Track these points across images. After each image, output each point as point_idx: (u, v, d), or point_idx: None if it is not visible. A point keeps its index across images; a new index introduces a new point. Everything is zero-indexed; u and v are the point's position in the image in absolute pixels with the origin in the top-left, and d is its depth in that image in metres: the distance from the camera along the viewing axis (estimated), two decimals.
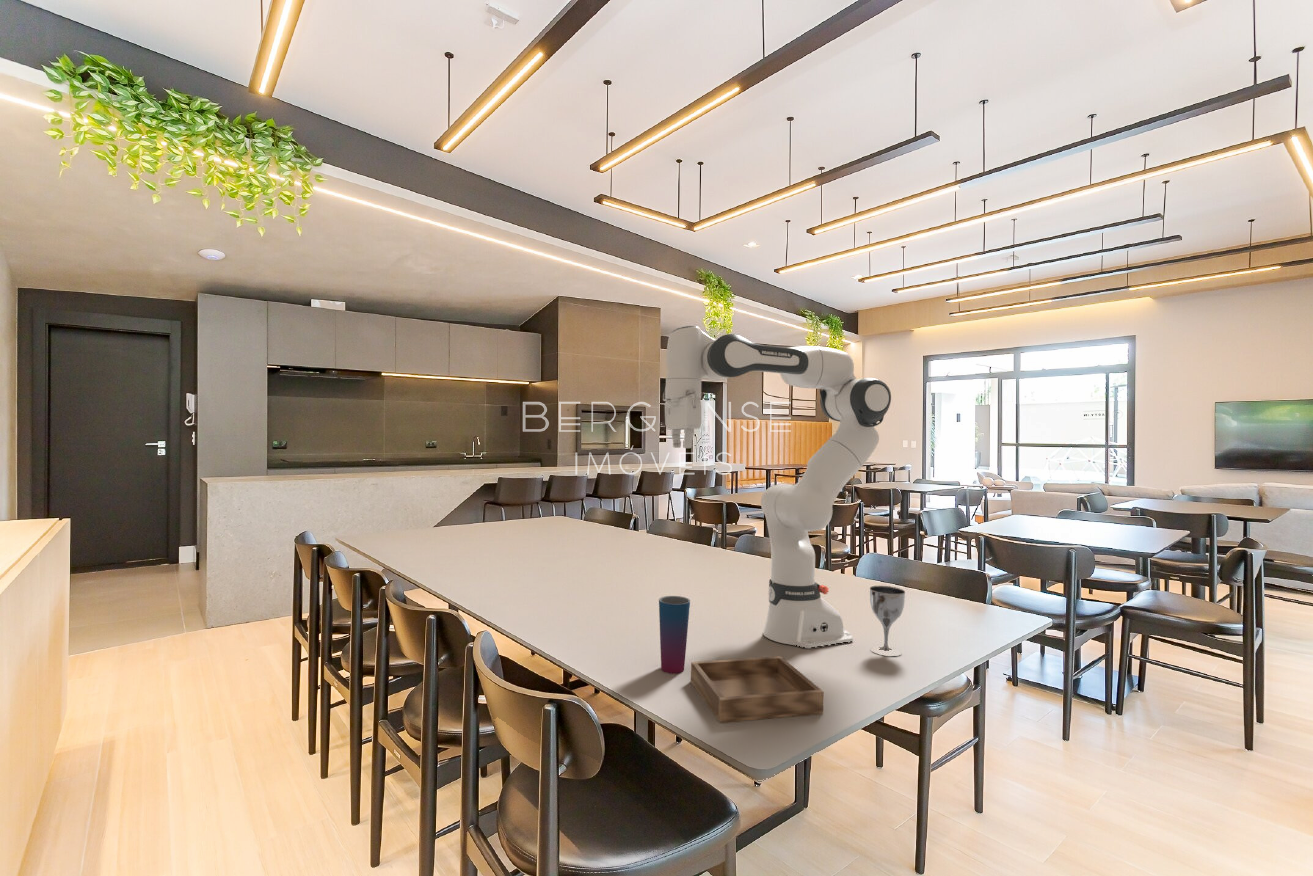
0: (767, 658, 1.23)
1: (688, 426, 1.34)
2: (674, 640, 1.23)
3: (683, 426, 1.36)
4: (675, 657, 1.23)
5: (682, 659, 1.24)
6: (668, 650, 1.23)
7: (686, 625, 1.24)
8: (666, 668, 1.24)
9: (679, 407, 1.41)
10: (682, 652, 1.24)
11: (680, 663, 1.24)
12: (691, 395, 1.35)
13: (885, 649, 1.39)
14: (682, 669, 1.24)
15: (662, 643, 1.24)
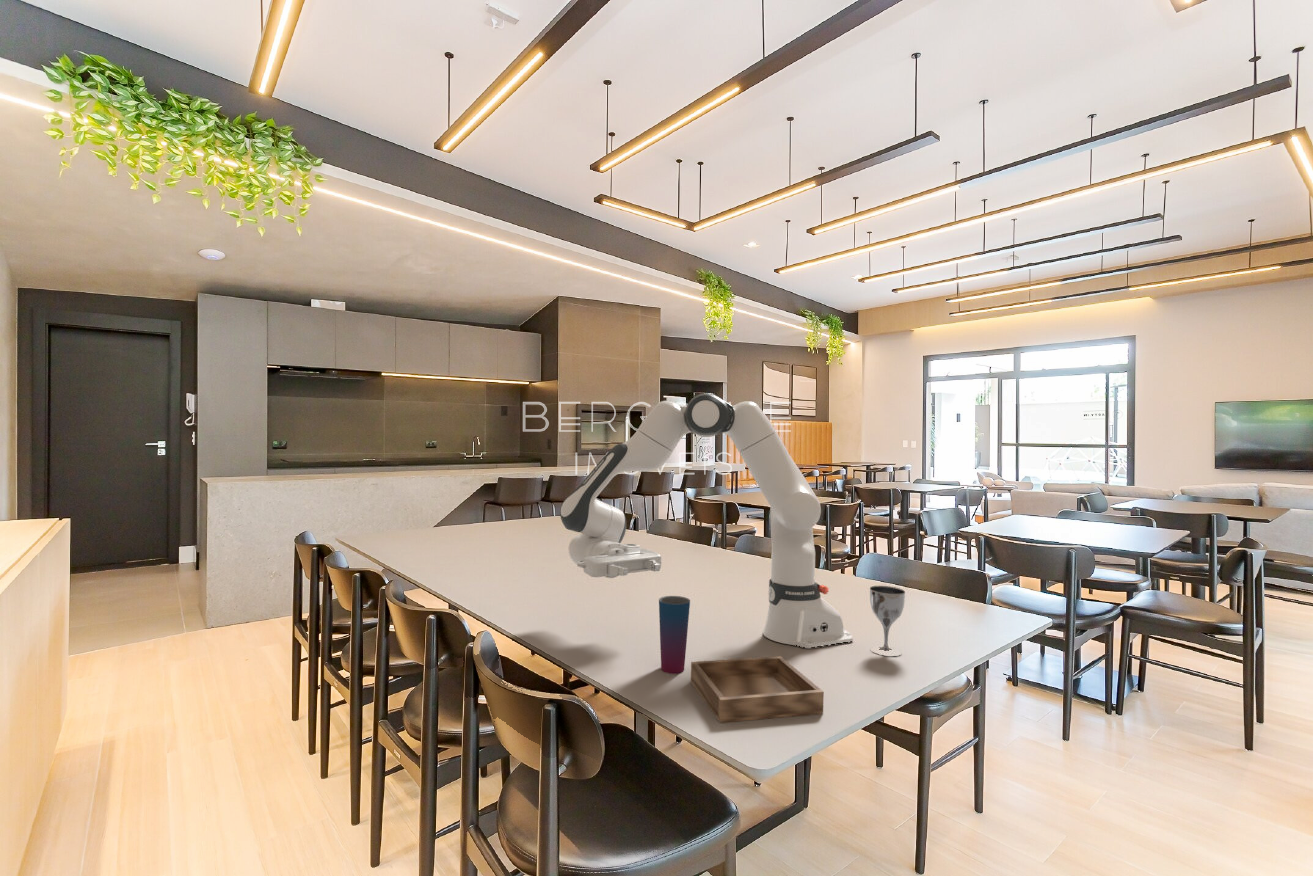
0: (767, 658, 1.23)
1: (595, 575, 1.34)
2: (674, 640, 1.23)
3: (604, 576, 1.35)
4: (675, 657, 1.23)
5: (682, 659, 1.24)
6: (668, 650, 1.23)
7: (686, 625, 1.24)
8: (666, 668, 1.24)
9: None
10: (682, 652, 1.24)
11: (680, 663, 1.24)
12: None
13: (885, 649, 1.39)
14: (682, 669, 1.24)
15: (662, 643, 1.24)
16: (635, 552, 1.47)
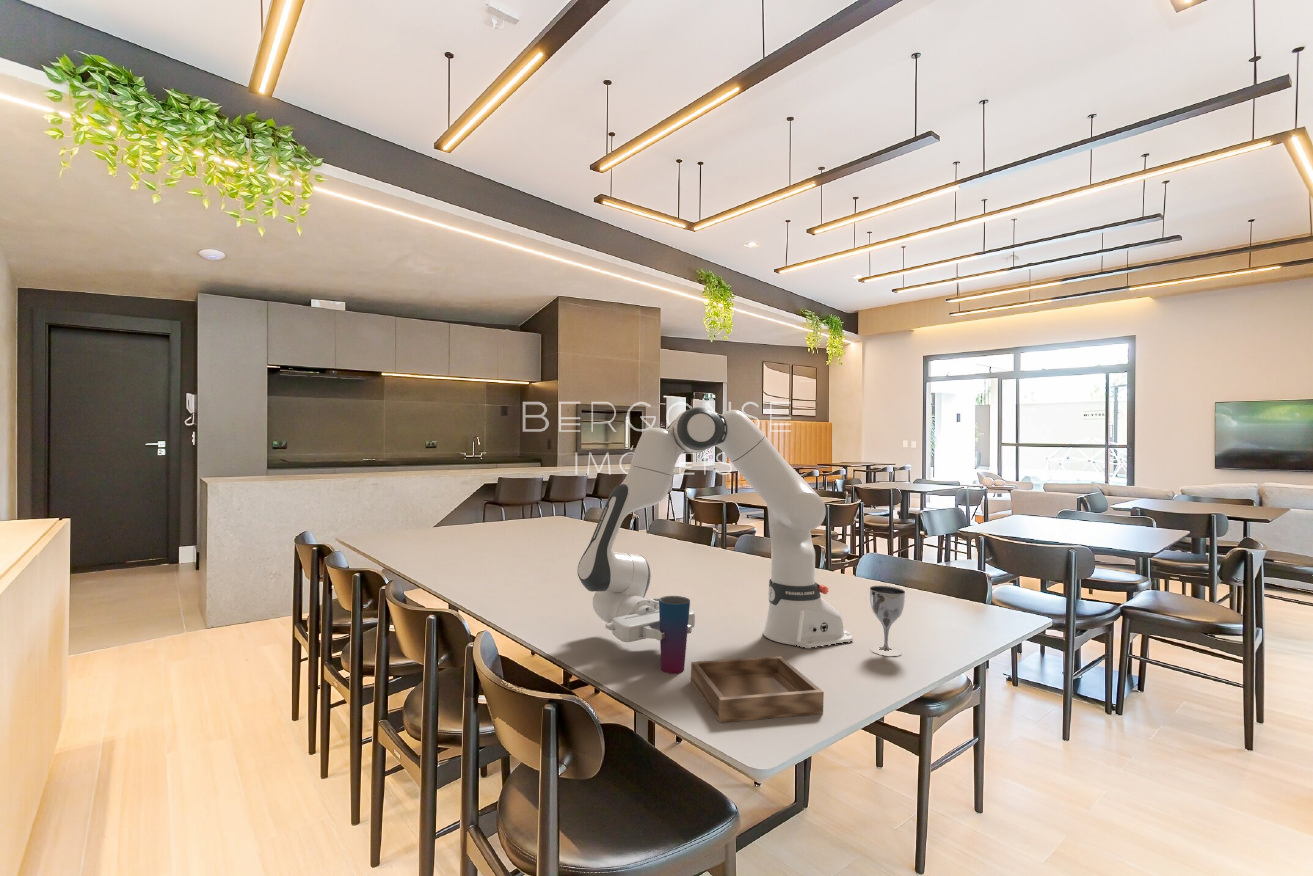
0: (767, 658, 1.23)
1: (626, 640, 1.23)
2: (674, 640, 1.23)
3: (635, 640, 1.25)
4: (675, 657, 1.23)
5: (682, 659, 1.24)
6: (668, 650, 1.23)
7: (686, 625, 1.24)
8: (666, 668, 1.24)
9: None
10: (682, 652, 1.24)
11: (680, 663, 1.24)
12: None
13: (885, 649, 1.39)
14: (682, 669, 1.24)
15: (662, 643, 1.24)
16: None
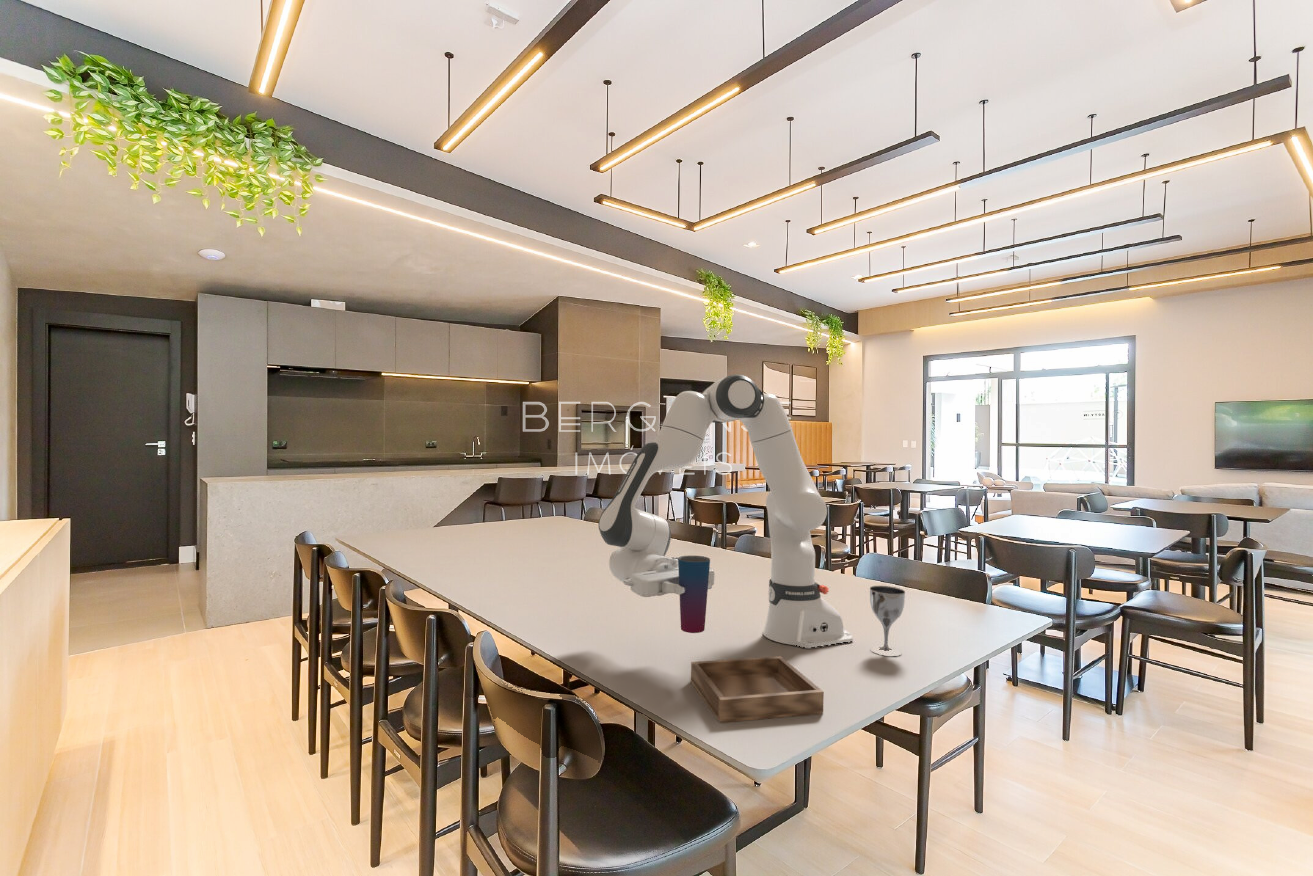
0: (767, 658, 1.23)
1: (645, 595, 1.21)
2: (694, 599, 1.20)
3: (655, 595, 1.22)
4: (695, 616, 1.20)
5: (702, 618, 1.21)
6: (688, 609, 1.21)
7: (706, 584, 1.21)
8: (686, 628, 1.21)
9: None
10: (702, 611, 1.21)
11: (700, 623, 1.21)
12: None
13: (885, 649, 1.39)
14: (702, 629, 1.22)
15: (682, 602, 1.22)
16: None
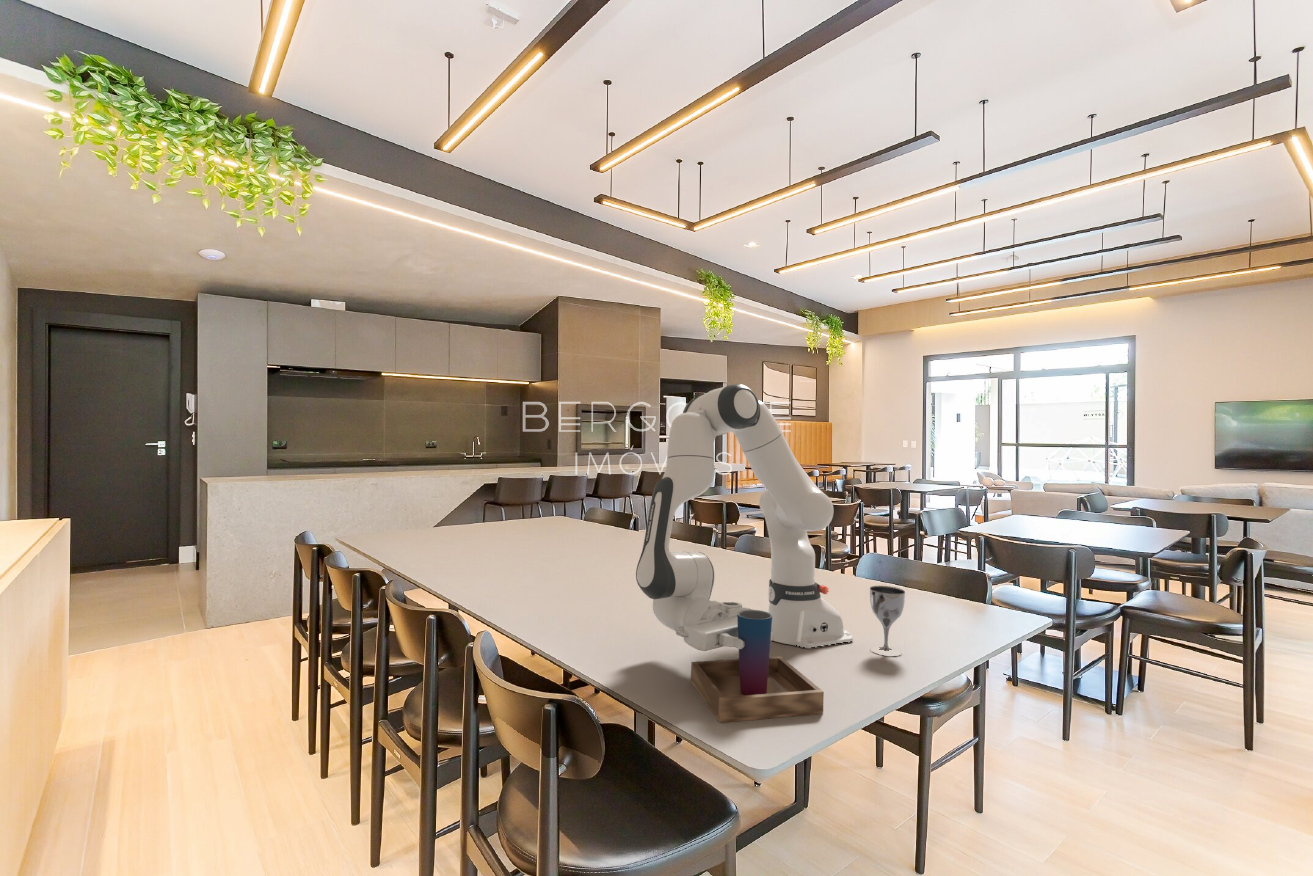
0: None
1: (702, 649, 1.11)
2: (756, 660, 1.10)
3: None
4: (757, 678, 1.10)
5: (765, 681, 1.11)
6: (749, 671, 1.10)
7: (769, 643, 1.11)
8: (747, 691, 1.11)
9: None
10: (765, 673, 1.11)
11: (763, 685, 1.11)
12: None
13: (885, 649, 1.39)
14: (765, 692, 1.11)
15: (742, 663, 1.11)
16: None
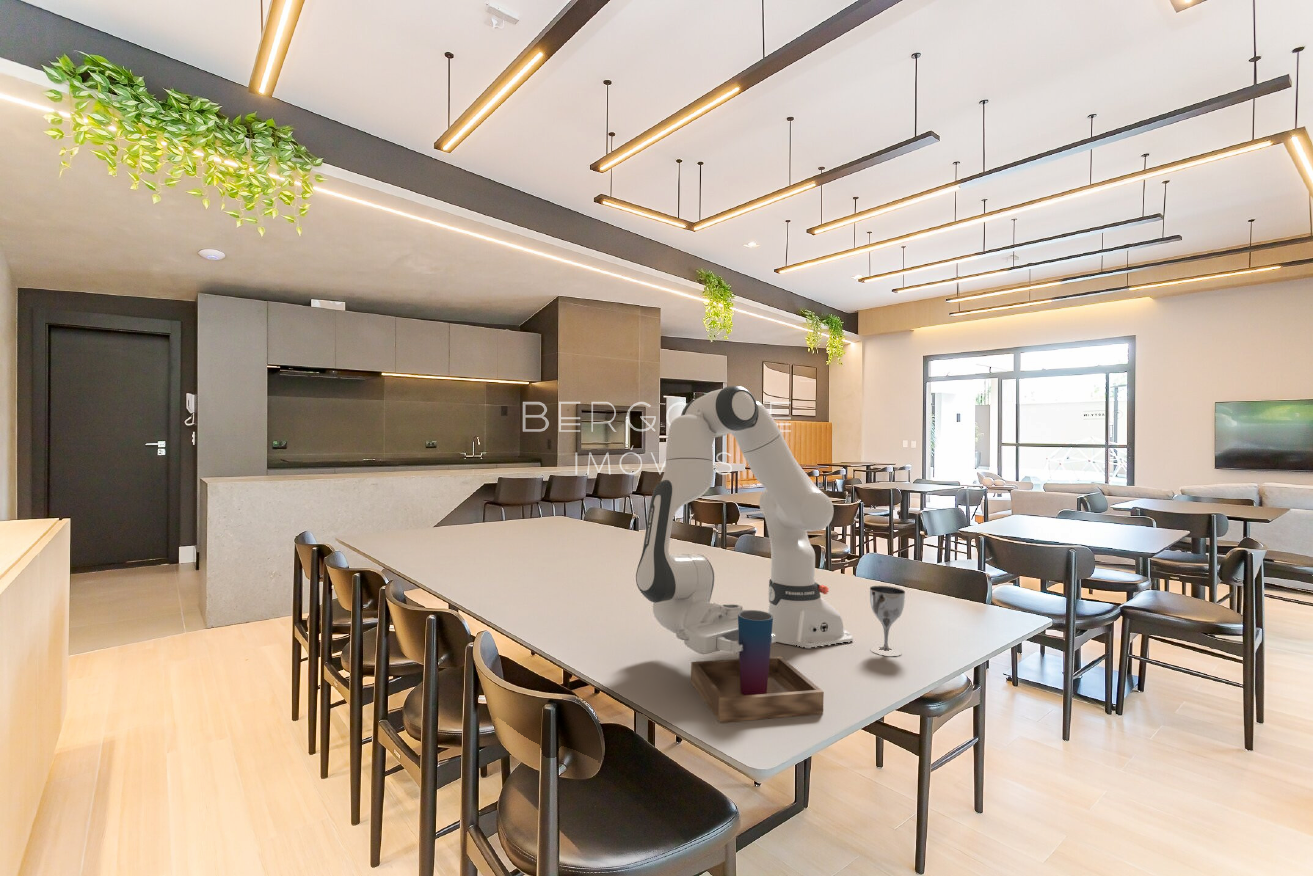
0: None
1: (703, 652, 1.11)
2: (757, 660, 1.10)
3: None
4: (757, 679, 1.10)
5: (765, 681, 1.11)
6: (750, 671, 1.10)
7: (769, 644, 1.11)
8: (747, 692, 1.11)
9: None
10: (765, 674, 1.11)
11: (763, 686, 1.11)
12: None
13: (885, 649, 1.39)
14: (765, 693, 1.11)
15: (742, 663, 1.11)
16: None
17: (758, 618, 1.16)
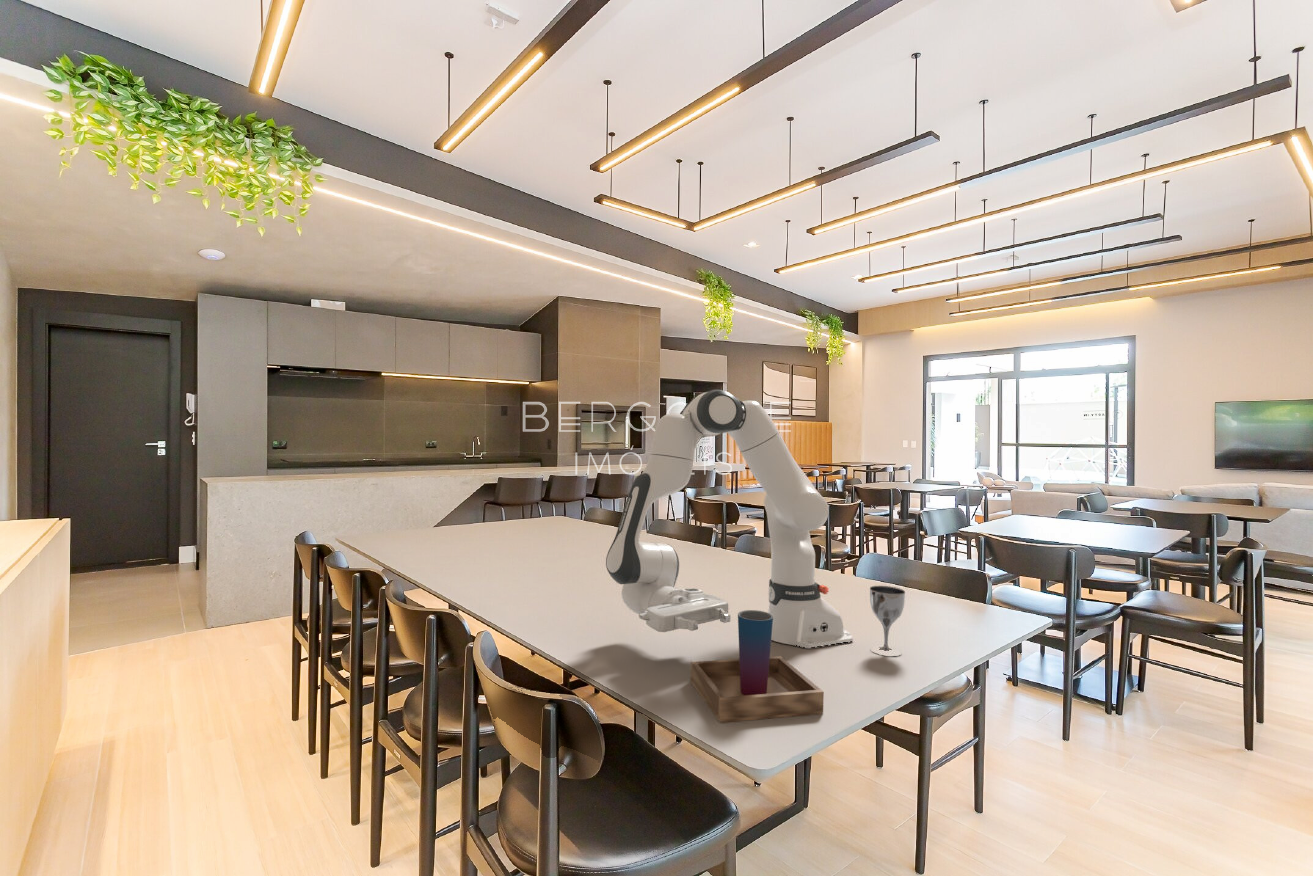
0: None
1: (661, 630, 1.21)
2: (757, 660, 1.10)
3: None
4: (757, 679, 1.10)
5: (765, 681, 1.11)
6: (750, 672, 1.10)
7: (769, 644, 1.11)
8: (747, 692, 1.11)
9: None
10: (765, 674, 1.11)
11: (763, 686, 1.11)
12: None
13: (885, 649, 1.39)
14: (765, 693, 1.11)
15: (742, 663, 1.11)
16: (699, 598, 1.35)
17: (758, 618, 1.16)
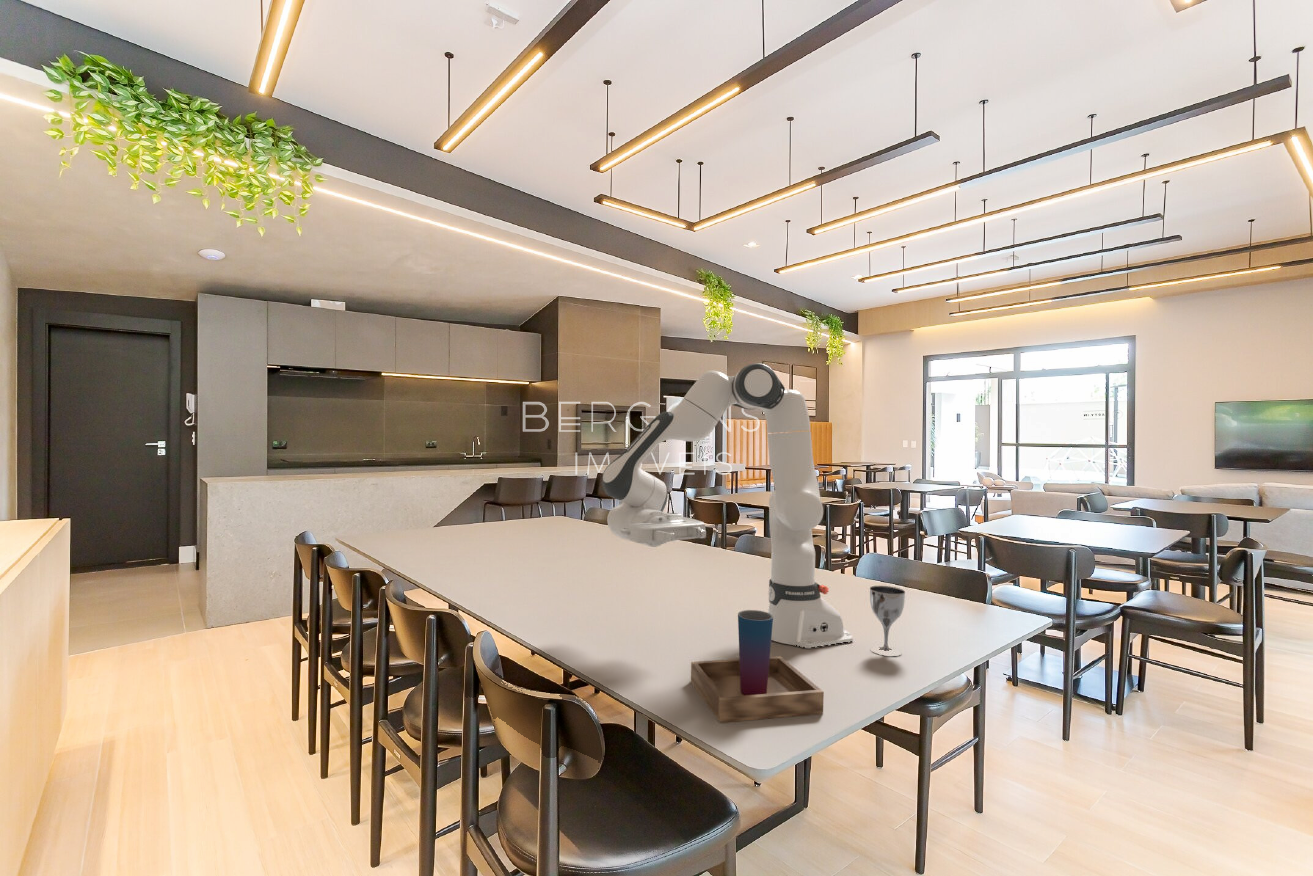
0: None
1: (641, 541, 1.30)
2: (757, 660, 1.10)
3: (650, 542, 1.32)
4: (757, 679, 1.10)
5: (765, 681, 1.11)
6: (750, 672, 1.10)
7: (769, 644, 1.11)
8: (747, 692, 1.11)
9: None
10: (765, 674, 1.11)
11: (763, 686, 1.11)
12: None
13: (885, 649, 1.39)
14: (765, 693, 1.11)
15: (742, 663, 1.11)
16: (678, 520, 1.44)
17: (758, 618, 1.16)
